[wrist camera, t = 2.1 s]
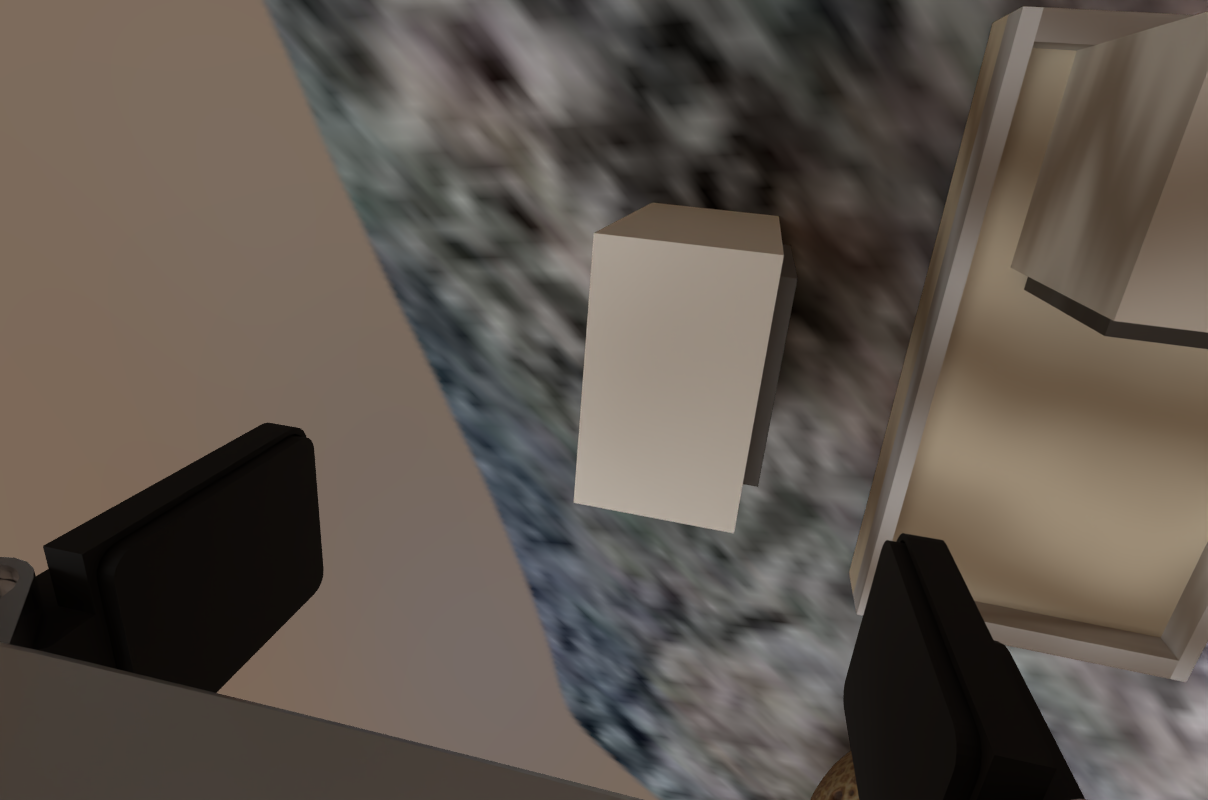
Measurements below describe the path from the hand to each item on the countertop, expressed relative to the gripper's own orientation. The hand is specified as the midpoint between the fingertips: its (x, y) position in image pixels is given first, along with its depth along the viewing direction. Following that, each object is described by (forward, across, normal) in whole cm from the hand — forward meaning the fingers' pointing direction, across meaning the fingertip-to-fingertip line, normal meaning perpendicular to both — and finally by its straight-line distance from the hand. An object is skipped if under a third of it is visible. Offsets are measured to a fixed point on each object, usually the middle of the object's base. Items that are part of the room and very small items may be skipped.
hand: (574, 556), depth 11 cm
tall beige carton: (+16, -1, 0) cm, 16 cm away
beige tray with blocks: (+16, -14, 0) cm, 21 cm away
